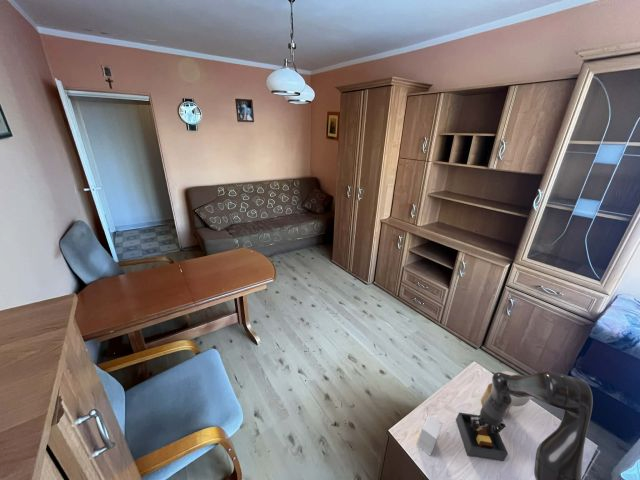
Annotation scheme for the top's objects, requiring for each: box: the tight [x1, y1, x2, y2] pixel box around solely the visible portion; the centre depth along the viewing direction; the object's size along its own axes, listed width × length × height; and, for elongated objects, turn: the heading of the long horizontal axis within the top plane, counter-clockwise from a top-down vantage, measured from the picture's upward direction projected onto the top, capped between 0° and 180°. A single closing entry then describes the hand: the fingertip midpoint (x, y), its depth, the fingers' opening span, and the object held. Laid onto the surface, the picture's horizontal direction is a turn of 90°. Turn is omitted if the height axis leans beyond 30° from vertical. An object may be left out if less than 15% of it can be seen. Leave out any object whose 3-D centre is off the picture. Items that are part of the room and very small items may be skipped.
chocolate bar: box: [472, 426, 493, 449], centre depth 116 cm, size 10×5×3 cm, turn 173°
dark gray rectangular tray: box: [455, 412, 509, 462], centre depth 117 cm, size 15×15×6 cm
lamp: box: [480, 370, 530, 419], centre depth 125 cm, size 15×14×25 cm
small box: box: [415, 413, 444, 457], centre depth 113 cm, size 8×6×13 cm
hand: (480, 433), depth 116 cm, fingers closed on chocolate bar, 4 cm apart
